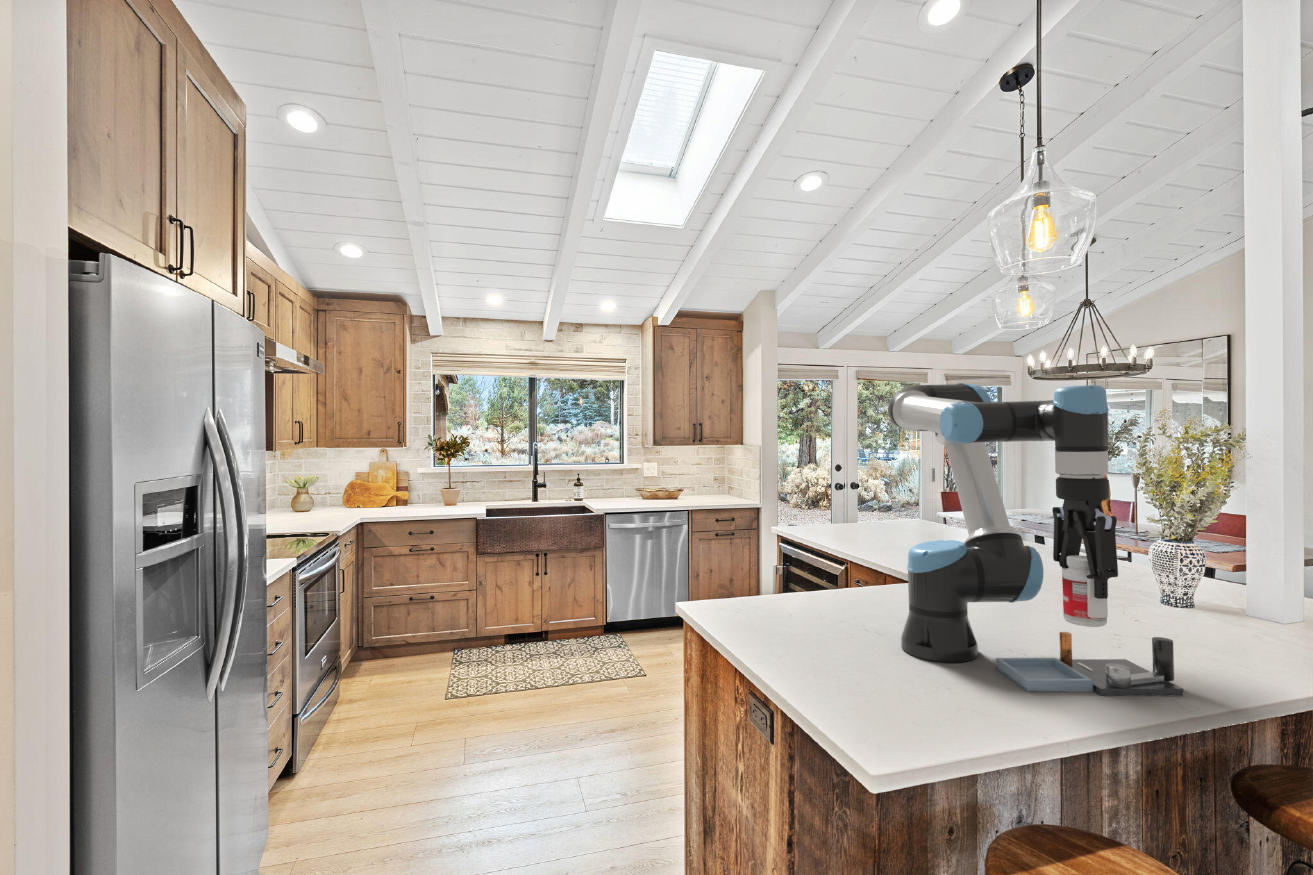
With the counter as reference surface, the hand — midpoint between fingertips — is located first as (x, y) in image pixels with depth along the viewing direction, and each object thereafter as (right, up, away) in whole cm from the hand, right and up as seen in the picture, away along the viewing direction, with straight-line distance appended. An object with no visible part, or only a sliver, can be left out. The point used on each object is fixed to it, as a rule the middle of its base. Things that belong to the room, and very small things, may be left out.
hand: (1084, 610), depth 106 cm
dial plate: (+13, -16, +11) cm, 23 cm away
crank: (+14, -15, +6) cm, 21 cm away
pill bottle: (0, -2, 0) cm, 2 cm away
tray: (0, -16, +12) cm, 20 cm away
